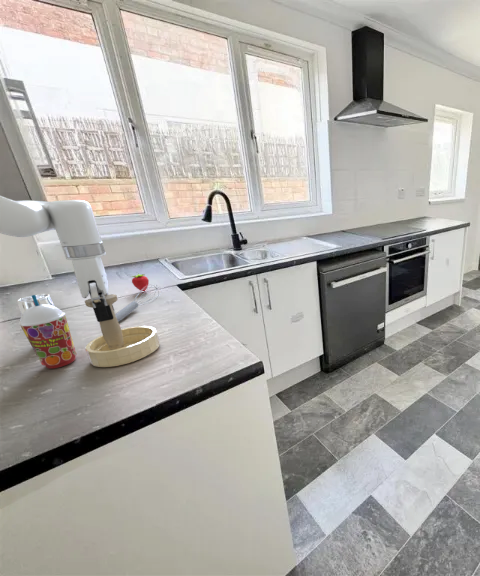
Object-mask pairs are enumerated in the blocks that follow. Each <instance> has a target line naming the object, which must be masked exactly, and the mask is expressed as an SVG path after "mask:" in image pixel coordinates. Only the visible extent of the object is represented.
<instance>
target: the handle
mask: <svg viewBox="0 0 480 576" xmlns="http://www.w3.org/2000/svg"><path fill="white" fill-rule="evenodd" d="M105 296H106V300H107V303H108V305H110V308H111V311H112V314H113V319H112V320H107V321H102V322H98V323H99V328H100V331H101V335H103V337H104V339H105V341H106V343H107V345H108V347H109V349H111V350H116V349H120V348H122V347H124V342H122V341H123V335H122V331H121V329H122V328H121V324H120V322H118V320H117V318H116V315H115V314H116V313H115V309H114V310H113V308H114V306H113V307H112V305H113V304H115V303H116V302H117V301H118V296H117V294H115V293H113V294H112V293H110V294H108V295H105ZM100 298H102V299H103V297H100ZM84 304H85V306H86V307H88V308H92V309H93V304H92V301H91V298H88V299H85V300H84Z"/></svg>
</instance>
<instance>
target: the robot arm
mask: <svg viewBox="0 0 480 576" xmlns="http://www.w3.org/2000/svg"><path fill="white" fill-rule="evenodd" d="M49 231H55V232H56V234H57V237H58V240H59V243H60V247H61V249H62V252H63V254H64V257H65V259H66V261H67V260H68V261H71V263H72V264H71V265H72V267H73V272H74V276H75V278H76V282H77V286H78V288H79V289H78V290H79V292H80V295H81V298H83V299H87V298H88V297H90V298H89V299H91V301H92V304H93V308H92V309H93V312H94V315H95V318H96V321H97V322H98V323H99V322H102V321H107V320H112V319H113V314H112V311H111V308H110V305H108V303H107V300H106V296H105V295H109V288H110V286H109V285H110V284H109V281H108V275H107V272H106V269H105V266H104V262H103V259H102V257H104V256H106V255H107V252H106V250H105V249H106V248H105V246H104V243H103V240H102V236H101V234H100V230H99V226H98V223H97V221H96V217H95V214H94V211H93V208H92V206H91V204H90V203H89V202H88V201H86V200H81V199H67V200H66V199H65V200H54V201H45V200H27V199H26V200H25V199H24V200H13V199H11V198H8V197H5V196H2V195H0V234H1V235H5V236H9V237H15V238H28V237H32V236H36V235H39V234H41V233H45V232H49ZM100 297H103V299H102V298H100ZM112 307H113V310H114V311H115V307H114V305H113V304H112Z"/></svg>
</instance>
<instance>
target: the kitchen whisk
mask: <svg viewBox="0 0 480 576" xmlns="http://www.w3.org/2000/svg"><path fill="white" fill-rule="evenodd" d="M147 286H148V289H151V288H153V289H152V290H150V291H149V292H147V291H148V289H146V288H145V289H146V291H145V292H142V291H140V290H139V292H138V294H136V296H135V298H133V301H131V302H130V303H129V304H127V305H125V306H124V307H123V308H121V309H120V310H119V311H117V312H116V313H115V315H116V318H117V320H118V323H120V321H122V320H123V319H124V318H126V317H127V316H129V314H131V313H132V312H133V311H135V310H136V309H137V308H139V307H140V306H141V305H142V306H145V304H146V303H148V300H146V301H145V302H142V301H143V300H145V299H146V298H148V297H150V296H151V295H152V294H156V292H157V293H160V292H159V290H160V291H161V293H160V294H162V293H163V291H162V289H160V286H159V287H158V286H157V284H156V283H154V284H151V285H150V286H149V284H148V285H147ZM145 287H146V286H145ZM143 290H144V289H143ZM141 292H142V294H141V296H143V297H144V298H143V299H142V297H139V298H138V296H139V294H140V293H141ZM146 292H147V293H146ZM151 292H152V293H151ZM145 293H146V294H145ZM149 293H150V294H149ZM147 294H149V295H147ZM160 294H158V295H157V296H154V297H152V298H151V299H150V301H151V300H152V301H153V300H155V299H156V298H157V297H159V296H160ZM146 295H147V297H145V296H146ZM137 298H138V300H137ZM142 303H143V304H142Z"/></svg>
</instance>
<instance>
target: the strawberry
mask: <svg viewBox="0 0 480 576" xmlns="http://www.w3.org/2000/svg"><path fill="white" fill-rule="evenodd" d="M130 278H132V279H131V283H132V285H133V287H135V288H136V289H137V290H138V291H139V292H140V291H141V292H142V291H145V290H148V288H149V285H150V283H149V281H150V280H149V278H148V277H147V276H146V273H143V274H140V273H139V272H137V275H131V276H130ZM147 285H148V286H147ZM145 286H146V287H145ZM145 288H146V289H145ZM143 289H144V290H143Z"/></svg>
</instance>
